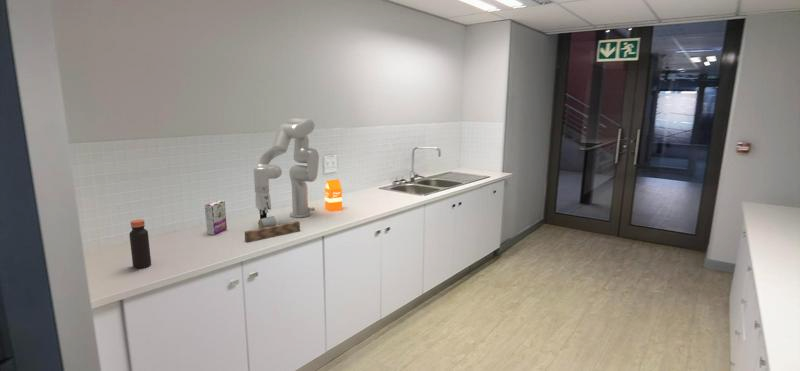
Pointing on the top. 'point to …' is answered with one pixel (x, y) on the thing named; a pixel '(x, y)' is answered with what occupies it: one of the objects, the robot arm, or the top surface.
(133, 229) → the bottle
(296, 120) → the robot arm
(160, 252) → the top surface
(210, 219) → the candy bar box
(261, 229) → the walnut board
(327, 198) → the orange juice
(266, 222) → the ceramic mug
